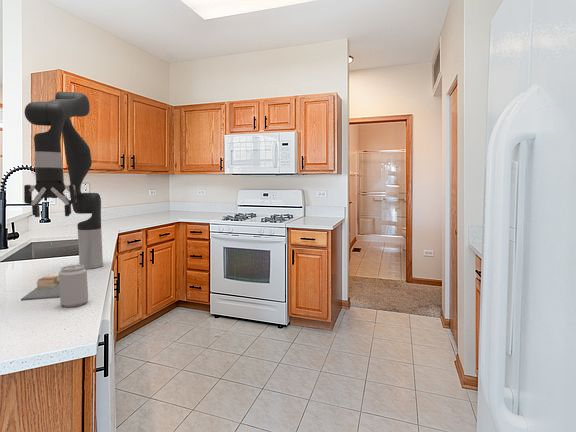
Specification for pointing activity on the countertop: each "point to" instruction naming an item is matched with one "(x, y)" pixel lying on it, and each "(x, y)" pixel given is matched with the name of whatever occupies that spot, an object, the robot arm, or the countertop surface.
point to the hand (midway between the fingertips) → (52, 216)
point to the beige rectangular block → (48, 282)
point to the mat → (43, 293)
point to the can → (73, 285)
